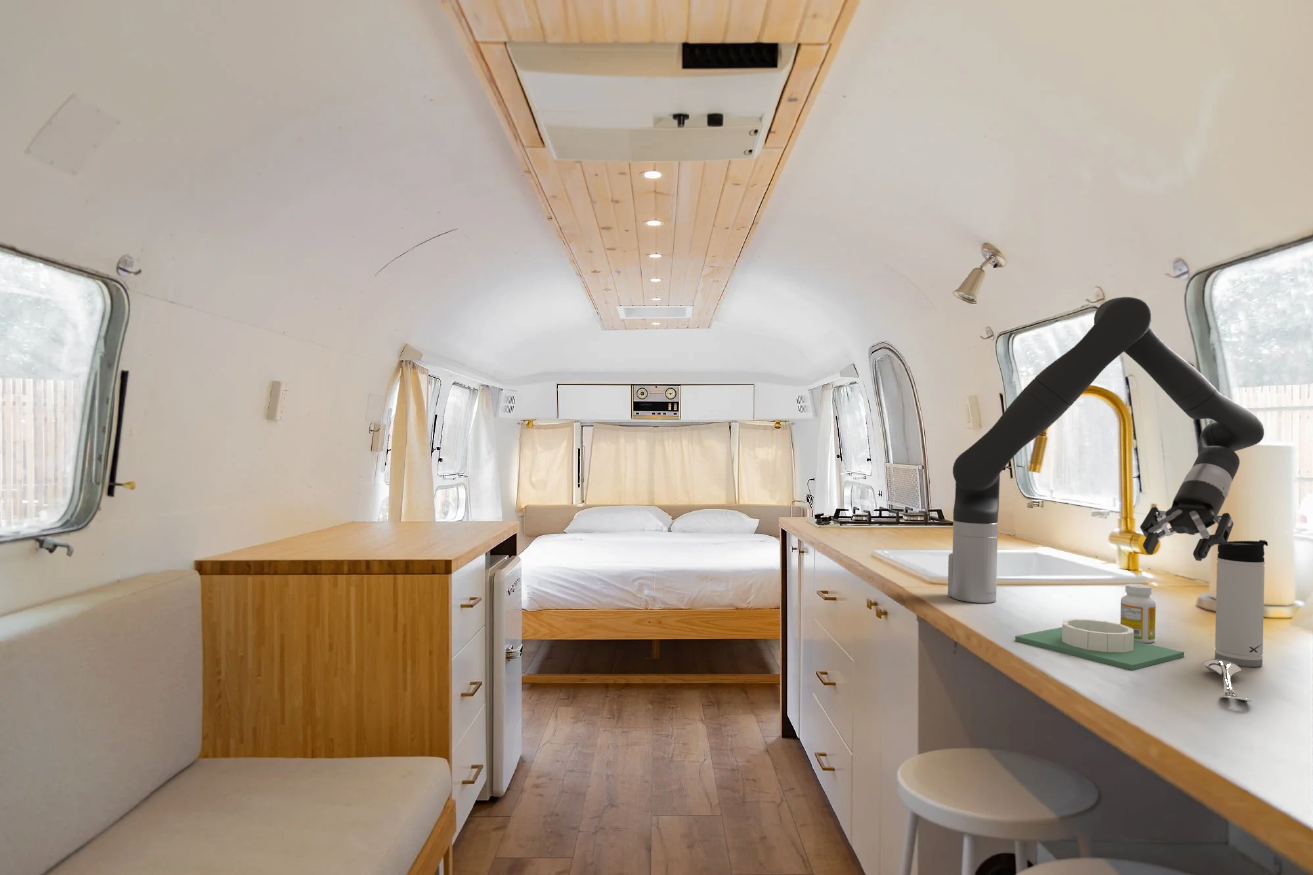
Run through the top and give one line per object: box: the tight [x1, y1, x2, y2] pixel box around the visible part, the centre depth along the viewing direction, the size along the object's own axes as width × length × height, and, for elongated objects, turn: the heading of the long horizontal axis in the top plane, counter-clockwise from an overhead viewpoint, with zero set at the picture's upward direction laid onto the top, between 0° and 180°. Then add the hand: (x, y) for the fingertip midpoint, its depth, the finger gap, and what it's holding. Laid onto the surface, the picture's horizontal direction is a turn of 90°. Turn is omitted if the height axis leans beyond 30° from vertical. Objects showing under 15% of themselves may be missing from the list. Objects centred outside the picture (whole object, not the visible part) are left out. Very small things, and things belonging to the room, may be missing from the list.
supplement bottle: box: [1119, 583, 1157, 644], centre depth 143 cm, size 5×5×10 cm
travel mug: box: [1214, 539, 1269, 668], centre depth 129 cm, size 6×7×20 cm
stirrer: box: [1203, 659, 1252, 703], centre depth 115 cm, size 20×4×5 cm
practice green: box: [1014, 618, 1185, 671], centre depth 136 cm, size 20×16×4 cm
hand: (1171, 554), depth 149 cm, fingers open, 8 cm apart
